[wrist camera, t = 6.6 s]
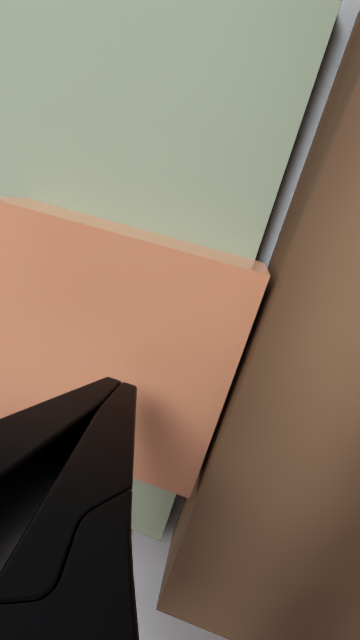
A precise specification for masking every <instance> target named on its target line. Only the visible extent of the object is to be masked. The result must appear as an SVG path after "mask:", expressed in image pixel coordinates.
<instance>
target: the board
mask: <svg viewBox="0 0 360 640" xmlns="http://www.w3.org/2000/svg"><path fill="white" fill-rule="evenodd" d="M267 269H268V271H269V274H270V278H269V281H268V284H267V286H266V289H265V292H264V295H263V297H262V300H261V303H260V306H259V308H258V311H257V314H256V317H255V319H254V322H253V325H252V328H251V330H250V333H249V336H248V339H247V342H246V344H245V347H244V350H243V353H242V355H241V358H240V361H239V364H238V366H237V369H236V372H235V375H234V377H233V380H232V383H231V386H230V388H229V391H228V394H227V397H226V399H225V402H224V405H223V408H222V411H221V413H220V416H219V419H218V422H217V424H216V427H215V430H214V433H213V435H212V438H211V441H210V444H209V446H208V449H207V452H206V455H205V457H204V460H203V463H202V466H201V468H200V471H199V474H198V477H197V480H196V482H195V485H194V488H193V491H192V493H191V496H190V499H189V498H185V501H184V504H183V507H182V510H181V512H180V515H179V518H178V521H177V524H176V527H175V529H174V532H173V535H172V540H171V545H170V549H169V554H168V558H167V563H166V567H165V572H164V576H163V581H162V585H161V590H160V594H159V599H158V603H157V608H156V610H159V611H161V612H163V613H166V614H168V615H171V616H173V617H176V618H178V619H180V620H183V621H185V622H188V623H190V624H193V625H195V626H197V627H200V628H202V629H205V630H207V631H210V632H212V633H214V634H217V635H219V636H222V637H224V638H226V639H229V640H360V11H359V13H358V15H357V18H356V21H355V24H354V27H353V29H352V32H351V35H350V38H349V41H348V43H347V46H346V49H345V52H344V55H343V57H342V60H341V63H340V66H339V69H338V71H337V74H336V77H335V80H334V83H333V86H332V88H331V91H330V94H329V97H328V100H327V102H326V105H325V108H324V111H323V114H322V116H321V119H320V122H319V125H318V128H317V130H316V133H315V136H314V139H313V142H312V145H311V147H310V150H309V153H308V156H307V159H306V161H305V164H304V167H303V170H302V173H301V175H300V178H299V181H298V184H297V187H296V189H295V192H294V195H293V198H292V201H291V204H290V206H289V209H288V212H287V215H286V218H285V220H284V223H283V226H282V229H281V232H280V234H279V237H278V240H277V243H276V246H275V248H274V251H273V254H272V257H271V260H270V262H269V265H268V268H267Z"/></svg>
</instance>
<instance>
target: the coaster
mask: <svg viewBox="0 0 360 640" xmlns="http://www.w3.org/2000/svg"><path fill="white" fill-rule="evenodd" d="M269 278H270V274H269V271H268V269H267V267H266V265H265V263H263V262H260V261H256V260H252V259H249V258H245V257H241V256H238V255H234V254H230V253H227V252H223V251H219V250H216V249H212V248H208V247H205V246H201V245H197V244H193V243H190V242H186V241H182V240H179V239H175V238H171V237H168V236H164V235H160V234H157V233H153V232H149V231H146V230H142V229H138V228H135V227H131V226H127V225H124V224H120V223H116V222H113V221H109V220H105V219H101V218H98V217H94V216H90V215H87V214H83V213H79V212H76V211H72V210H68V209H65V208H61V207H57V206H54V205H50V204H46V203H43V202H39V201H35V200H32V199H28V198H16V197H2V196H0V419H1V418H3V417H6V416H8V415H11V414H13V413H16V412H18V411H21V410H23V409H26V408H29V407H31V406H34V405H36V404H39V403H41V402H44V401H46V400H49V399H51V398H54V397H57V396H59V395H62V394H64V393H67V392H69V391H72V390H74V389H77V388H80V387H82V386H85V385H87V384H90V383H92V382H95V381H97V380H100V379H102V378H105V377H111V378H114V379H117V380H120V381H121V382H126V383H129V384H132V385H135V386H136V387H137V401H136V423H135V445H134V466H133V478H134V479H137V480H140V481H142V482H145V483H148V484H150V485H153V486H156V487H159V488H161V489H164V490H167V491H170V492H172V493H175V494H178V495H181V496H183V497H186V498H189V499H190V496H191V493H192V491H193V488H194V485H195V482H196V480H197V477H198V474H199V471H200V468H201V466H202V463H203V460H204V457H205V455H206V452H207V449H208V446H209V444H210V441H211V438H212V435H213V433H214V430H215V427H216V424H217V422H218V419H219V416H220V413H221V411H222V408H223V405H224V402H225V399H226V397H227V394H228V391H229V388H230V386H231V383H232V380H233V377H234V375H235V372H236V369H237V366H238V364H239V361H240V358H241V355H242V353H243V350H244V347H245V344H246V342H247V339H248V336H249V333H250V330H251V328H252V325H253V322H254V319H255V317H256V314H257V311H258V308H259V306H260V303H261V300H262V297H263V295H264V292H265V289H266V286H267V284H268V281H269Z"/></svg>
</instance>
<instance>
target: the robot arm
mask: <svg viewBox="0 0 360 640" xmlns="http://www.w3.org/2000/svg"><path fill="white" fill-rule="evenodd" d="M136 401H137V387H136V386H135V385H132V384H129V383H126V382H121V381H120V380H117V379H114V378H111V377H105V378H102V379H100V380H97V381H95V382H92V383H90V384H87V385H85V386H82V387H80V388H77V389H74V390H72V391H69V392H67V393H64V394H62V395H59V396H57V397H54V398H51V399H49V400H46V401H44V402H41V403H39V404H36V405H34V406H31V407H29V408H26V409H23V410H21V411H18V412H16V413H13V414H11V415H8V416H6V417H3V418H1V419H0V640H139V633H138V622H137V610H136V599H135V587H134V576H133V559H132V541H131V522H132V488H133V466H134V445H135V423H136Z"/></svg>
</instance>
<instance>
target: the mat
mask: <svg viewBox="0 0 360 640" xmlns="http://www.w3.org/2000/svg"><path fill="white" fill-rule="evenodd" d="M341 2H342V0H0V196H2V197H16V198H28V199H32V200H35V201H39V202H43V203H46V204H50V205H54V206H57V207H61V208H65V209H68V210H72V211H76V212H79V213H83V214H87V215H90V216H94V217H98V218H101V219H105V220H109V221H113V222H116V223H120V224H124V225H127V226H131V227H135V228H138V229H142V230H146V231H149V232H153V233H157V234H160V235H164V236H168V237H171V238H175V239H179V240H182V241H186V242H190V243H193V244H197V245H201V246H205V247H208V248H212V249H216V250H219V251H223V252H227V253H230V254H234V255H238V256H241V257H245V258H249V259H252V260H255V258H256V255H257V252H258V249H259V246H260V243H261V240H262V237H263V234H264V231H265V228H266V225H267V222H268V219H269V216H270V214H271V211H272V208H273V205H274V202H275V199H276V196H277V193H278V190H279V187H280V184H281V181H282V178H283V175H284V172H285V169H286V166H287V163H288V160H289V157H290V154H291V151H292V148H293V145H294V142H295V139H296V136H297V133H298V130H299V127H300V124H301V121H302V118H303V115H304V112H305V109H306V106H307V103H308V100H309V97H310V94H311V91H312V88H313V85H314V82H315V79H316V76H317V73H318V71H319V68H320V65H321V62H322V59H323V56H324V53H325V50H326V47H327V44H328V41H329V38H330V35H331V32H332V29H333V26H334V23H335V20H336V17H337V14H338V11H339V8H340V5H341ZM175 496H176V494H175V493H172V492H170V491H167V490H164V489H161V488H159V487H156V486H153V485H150V484H148V483H145V482H142V481H140V480H137V479H134V478H133V488H132V522H131V530H134V531H137V532H139V533H142V534H144V535H147V536H150V537H152V538H155V539H157V540H160V541H161V538H162V535H163V532H164V529H165V526H166V523H167V520H168V517H169V514H170V511H171V508H172V505H173V502H174V499H175Z"/></svg>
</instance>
